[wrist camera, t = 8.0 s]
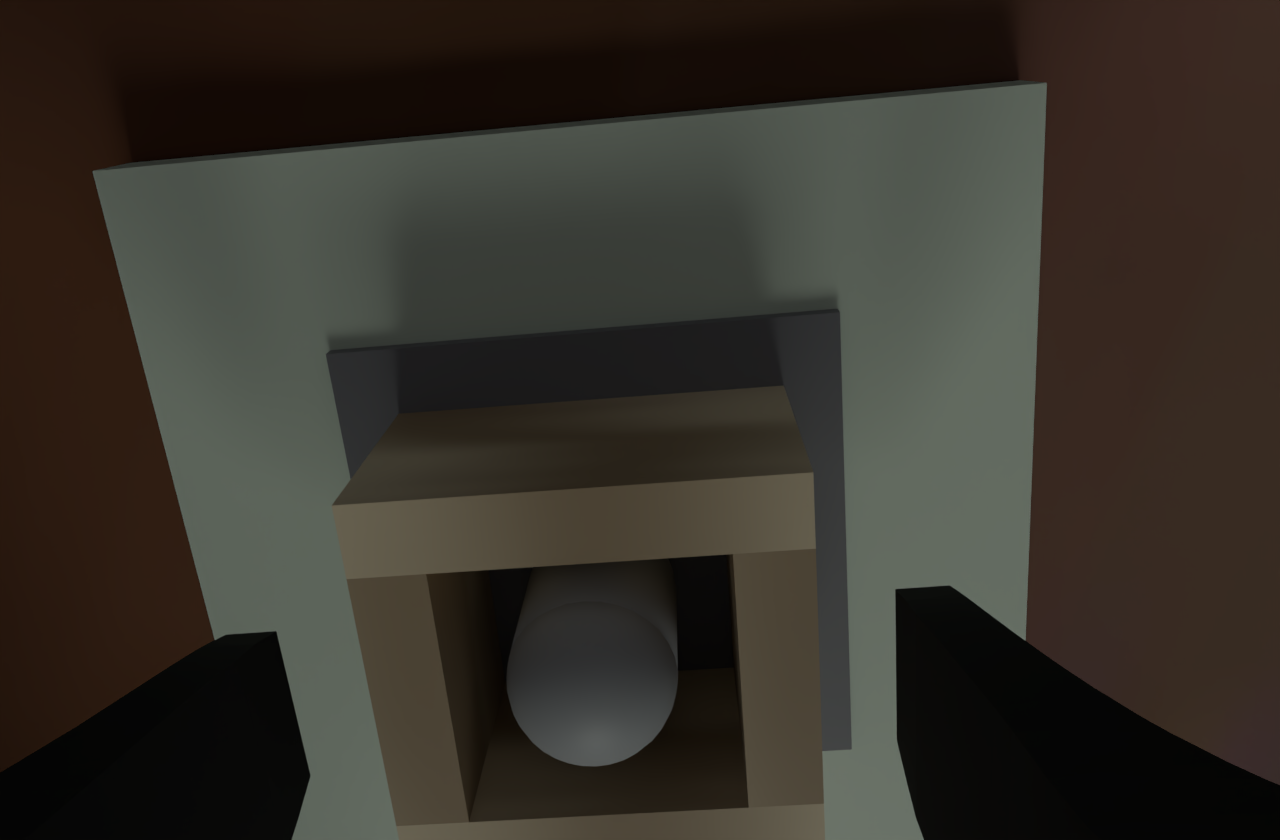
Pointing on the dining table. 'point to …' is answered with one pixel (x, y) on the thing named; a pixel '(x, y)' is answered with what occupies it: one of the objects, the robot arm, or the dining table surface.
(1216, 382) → the dining table surface
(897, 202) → the pin board
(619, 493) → the collar
